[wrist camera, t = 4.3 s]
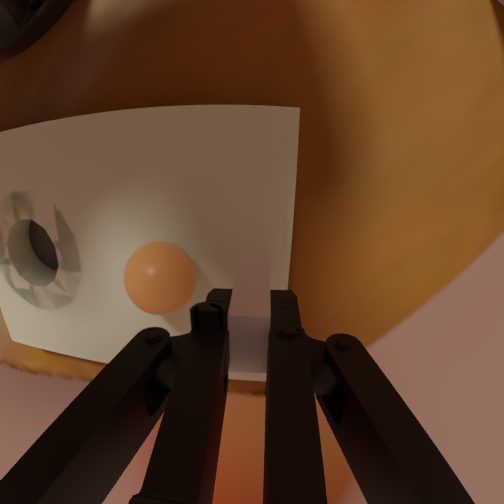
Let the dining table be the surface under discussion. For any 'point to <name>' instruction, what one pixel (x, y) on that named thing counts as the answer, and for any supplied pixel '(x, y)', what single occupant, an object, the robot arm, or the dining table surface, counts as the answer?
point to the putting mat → (137, 215)
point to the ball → (160, 278)
